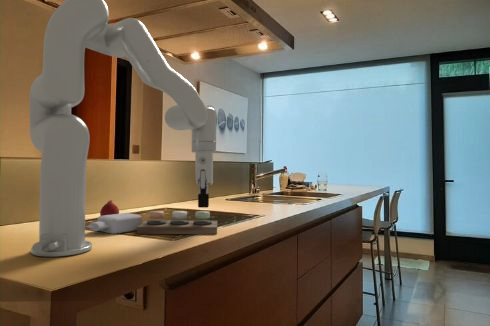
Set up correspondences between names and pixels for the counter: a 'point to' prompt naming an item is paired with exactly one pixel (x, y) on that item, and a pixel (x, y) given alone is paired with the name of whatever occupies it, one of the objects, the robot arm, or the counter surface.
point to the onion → (109, 209)
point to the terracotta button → (156, 214)
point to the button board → (177, 227)
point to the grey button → (179, 214)
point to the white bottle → (116, 223)
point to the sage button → (202, 215)
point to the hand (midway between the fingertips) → (203, 207)
